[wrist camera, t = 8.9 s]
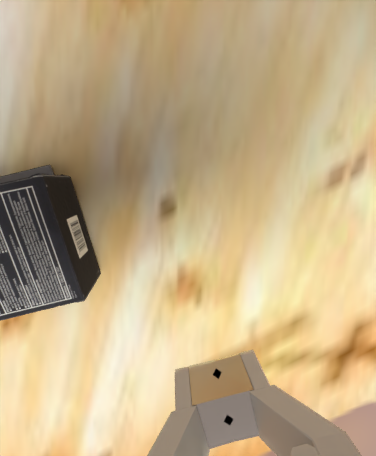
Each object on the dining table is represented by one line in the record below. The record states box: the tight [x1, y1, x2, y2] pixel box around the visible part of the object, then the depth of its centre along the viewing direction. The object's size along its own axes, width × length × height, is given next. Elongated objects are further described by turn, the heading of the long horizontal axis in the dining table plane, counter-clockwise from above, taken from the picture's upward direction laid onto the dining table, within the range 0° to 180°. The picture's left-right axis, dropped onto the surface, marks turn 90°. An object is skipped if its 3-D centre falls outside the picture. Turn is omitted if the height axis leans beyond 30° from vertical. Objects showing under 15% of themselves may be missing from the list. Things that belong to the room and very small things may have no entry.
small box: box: [0, 173, 101, 320], centre depth 21 cm, size 11×6×10 cm
